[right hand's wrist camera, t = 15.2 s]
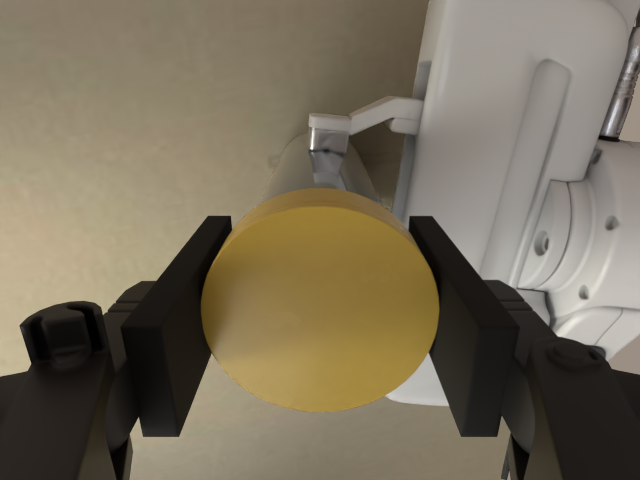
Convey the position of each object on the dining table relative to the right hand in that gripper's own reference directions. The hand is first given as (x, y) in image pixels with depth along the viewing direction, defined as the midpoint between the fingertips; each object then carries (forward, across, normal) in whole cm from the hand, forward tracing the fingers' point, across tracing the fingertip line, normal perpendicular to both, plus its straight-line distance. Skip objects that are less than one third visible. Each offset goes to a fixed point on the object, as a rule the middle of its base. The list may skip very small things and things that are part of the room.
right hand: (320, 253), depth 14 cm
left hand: (+6, -1, 0) cm, 6 cm away
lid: (-4, 0, 0) cm, 4 cm away
